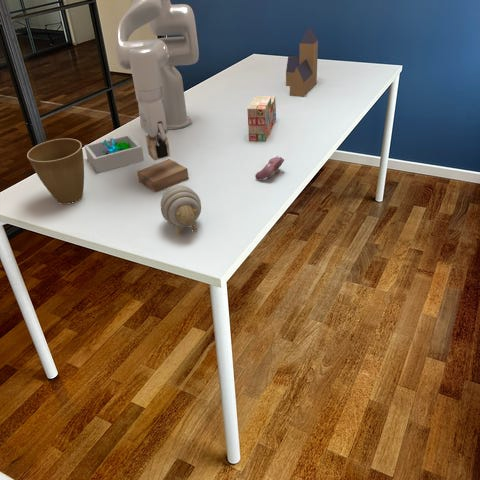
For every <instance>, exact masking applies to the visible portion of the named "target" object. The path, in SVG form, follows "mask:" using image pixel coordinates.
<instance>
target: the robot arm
mask: <svg viewBox="0 0 480 480" xmlns="http://www.w3.org/2000/svg"><path fill="white" fill-rule="evenodd" d="M130 1H131V3H130V5H131V6H130V7H129V9H127V11H126V12H125V13H124V14H123V16H122V17H121V19H120V20H119V22H118V24H117V27H116V31H115V52H116V53H115V54H116V60H117V62H118V64H119V66H120V67H121V68H122V69H124V70H131V71H130V72H131V76H132V80H133V86H134V92H135V98H136V102H137V103H138V114H139V119H140V120H139V121H140V127H141V130H143V132H145V133H146V135H147V136H148V135H149V136H151V137H155V141H156V145H155V146H156V152H157V157H158V158H163V157H166V156H168V152H167V145H166V139H167V137H168V136H167V133H168V130H179V129H184V128H186V127H189V126H190V125H191V123H192V118H191V116H188V115H187V114H188V113H187V108H186V107H187V106H186V99H185V98H186V97H185V90H184V83H183V77H182V74H181V73H180V72H179V70H178V69H177V68H176V67H177V66H189V65H195V64H196V63H198V61H199V56H200V53H199V43H198V36H197V35H198V34H197V25H196V19H195V14H194V11H193V9H192V7H191V6H190V5H188V4H184V3H180V4H172V2H171V0H130ZM147 24H148V27H149V30H150V32H151V33H152V34H153V35H155V36H158V37H159V36H161V37H160V38H156V39H155V38H152V39H137V40H134V39H133V40H129V38H130V37H131V35H132V34H133V33H134V32H135V31H136V30H138V29H139V28H141V27H144V26H145V25H147ZM179 35H180V36H179ZM163 36H164V37H163ZM165 36H166V37H165ZM167 36H169V37H167ZM170 36H171V37H170ZM173 36H175V37H173ZM157 133H160V134H158V135H157ZM160 136H161V137H160ZM158 137H160V139H159V141H158ZM166 158H167V157H166ZM163 159H164V158H163Z"/></svg>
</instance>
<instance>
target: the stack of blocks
mask: <svg viewBox="0 0 480 480" xmlns="http://www.w3.org/2000/svg"><path fill="white" fill-rule="evenodd" d="M276 121H277V104H276V96H275V95H273V96H272V95H268V96H267V95H266V96H265V95H263V96H262V95H258V96H254V97H253V99H252V101H251V102H250V104H249V105H248V106H247V123H248V124H247V125H248V126H247V127H248V142H261V143H263V142H264V143H265V142H267V140H268V138H270V137H269V136H270V134H271V131H272V129H273V127H274V125H275V123H276Z"/></svg>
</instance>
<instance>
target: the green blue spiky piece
mask: <svg viewBox="0 0 480 480" xmlns="http://www.w3.org/2000/svg"><path fill="white" fill-rule="evenodd" d="M113 138H114V137H111V138H110V139H111V140H112V145H113V147H112V146H110V145H108V144H107V143H106V140H107V139H105V140H103V141H104V142H105V143H103V145H104V144H105V145H106V146H107V147H108V148H109V150H107V151H103V153H105V152H107V153H106V154H105V155H107V154H111V153H115V152H119V151H122V150H126V149H130V146H129V145H128V144H127V143H126V142H121V143H115V144H114V141H113Z"/></svg>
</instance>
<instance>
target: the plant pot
mask: <svg viewBox="0 0 480 480" xmlns="http://www.w3.org/2000/svg"><path fill="white" fill-rule="evenodd" d="M26 156H27V159H28V161H29V163H30V164H31V166H32V168H33V170H34V172H35V173H36V175H37V176H38V178H39V180H40V182H41V183H42V184H43V186H44V187H45V188H46V190H47V191H48V192H49V194H51V196H52V197H53V198H54V199H55V201H57V203H58V204H60V203H63V204H62V205H69V204H68V203H71V204H73V203H72V202H74V203H77V202H79V201H80V200H81V199H82V198H83V194H84V185H85V182H84V181H85V162H84V161H85V159H84V151H83V144H82V142H81V141H79V140H78V139H74V138H66V137H65V138H56V139H52V140H47V141H44V142H41V143H38V144H37V145H35V146H34V147H32V148H30V150H28V152H27V154H26ZM79 199H80V200H79ZM76 201H77V202H76Z"/></svg>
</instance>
